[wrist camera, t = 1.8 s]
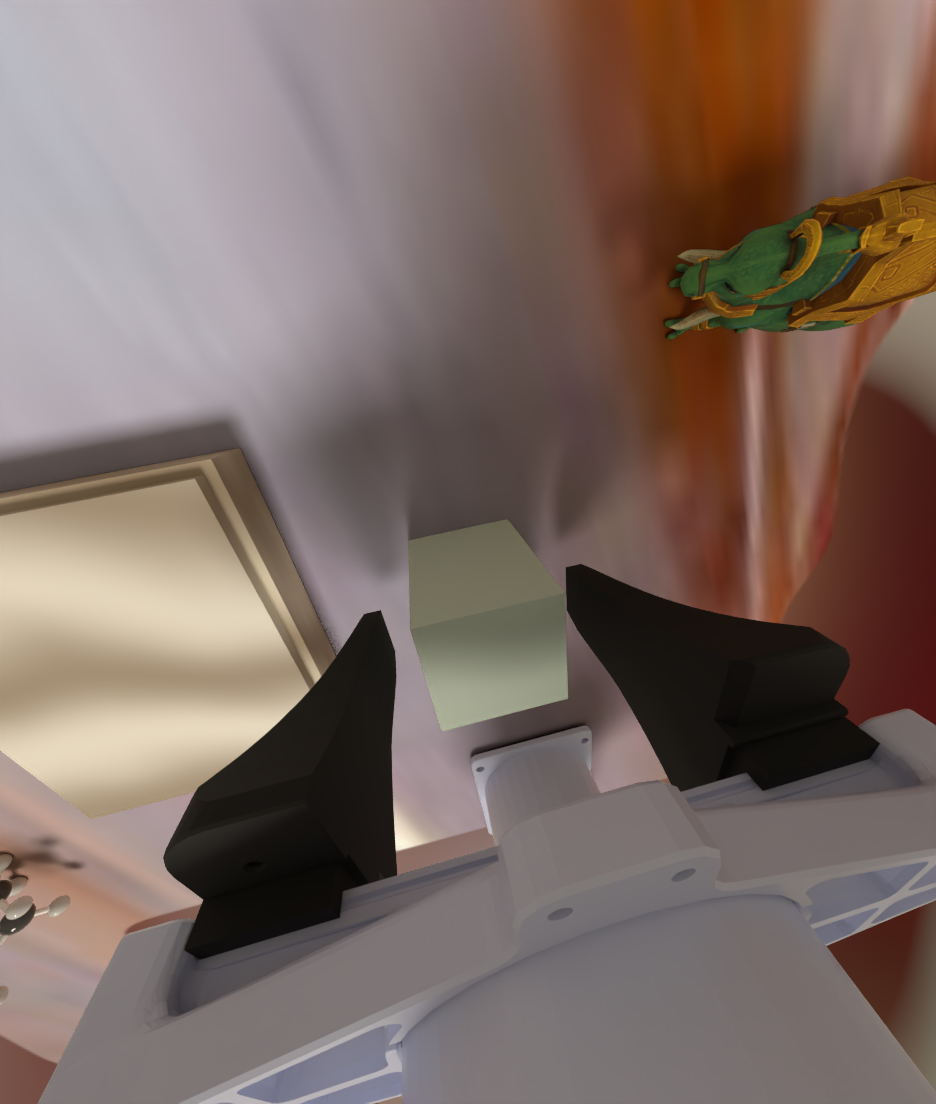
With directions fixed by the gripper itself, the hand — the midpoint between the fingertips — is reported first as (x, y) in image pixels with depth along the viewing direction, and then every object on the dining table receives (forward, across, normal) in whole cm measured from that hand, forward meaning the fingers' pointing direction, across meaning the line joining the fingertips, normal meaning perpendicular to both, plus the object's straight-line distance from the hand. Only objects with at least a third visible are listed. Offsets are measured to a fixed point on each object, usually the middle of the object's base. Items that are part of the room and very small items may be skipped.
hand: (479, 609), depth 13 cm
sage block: (+3, 0, 0) cm, 3 cm away
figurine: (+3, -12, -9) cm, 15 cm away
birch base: (+3, +13, 0) cm, 13 cm away
